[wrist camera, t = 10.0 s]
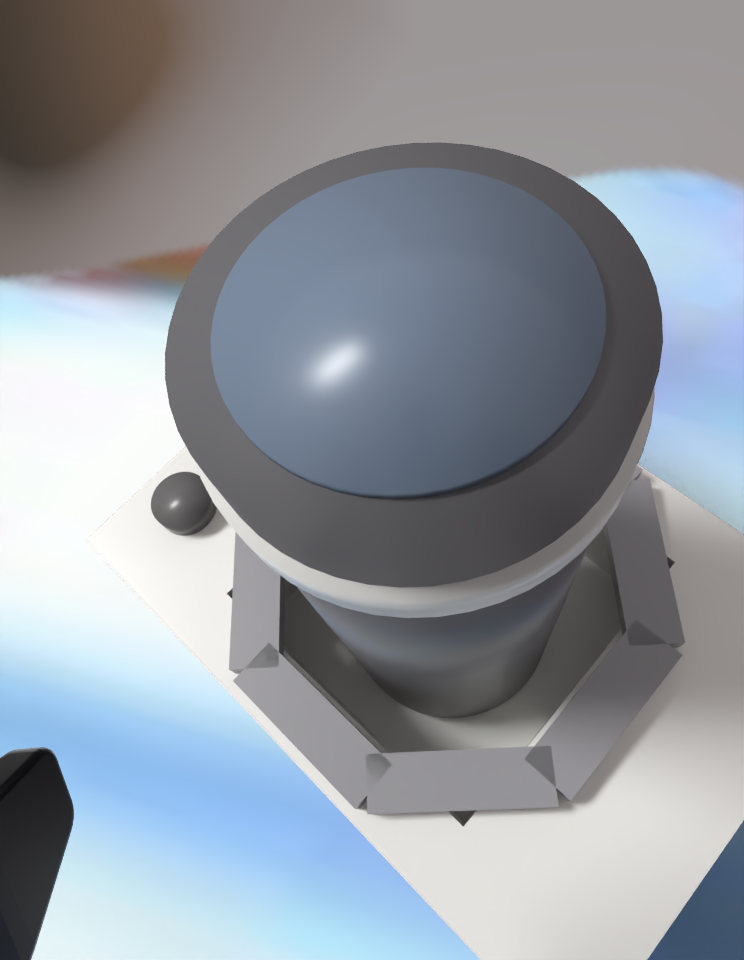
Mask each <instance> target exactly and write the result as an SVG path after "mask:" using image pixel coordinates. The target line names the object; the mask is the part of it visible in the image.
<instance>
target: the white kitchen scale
mask: <svg viewBox="0 0 744 960" xmlns="http://www.w3.org/2000/svg"><path fill="white" fill-rule="evenodd" d="M86 541H87V542H88V543H89V545H90V546H91V547H92V548H93V549H94V550H95V551H96V552H97V553H98V554H99V555H100V556H101V557H102V558H103V559H104V560H105V562H106V563H107V564H108V565H109V566H110V567H111V568H112V569H113V570H114V571H115V572H116V573H117V574H118V575H119V576H120V577H121V578H122V580H123V581H124V582H125V583H126V584H127V585H128V586H129V587H130V588H131V589H132V590H133V591H134V592H135V593H136V594H137V595H138V597H139V598H140V599H141V600H142V601H143V602H144V603H145V604H146V605H147V606H148V607H149V608H150V609H151V610H152V611H153V612H154V614H155V615H156V616H157V617H158V618H159V619H160V620H161V621H162V622H163V623H164V624H165V625H166V626H167V627H168V628H169V629H170V630H171V632H172V633H173V634H174V635H175V636H176V637H177V638H178V639H179V640H180V641H181V642H182V643H183V644H184V645H185V646H186V647H187V649H188V650H189V651H190V652H191V653H192V654H193V655H194V656H195V657H196V658H197V659H198V660H199V661H200V662H201V663H202V664H203V666H204V667H205V668H206V669H207V670H208V671H209V672H210V673H211V674H212V675H213V676H214V677H215V678H216V679H217V680H218V681H219V682H220V684H221V685H222V686H223V687H224V688H225V689H226V690H227V691H228V692H229V693H230V694H231V695H232V696H233V697H234V698H235V699H236V701H237V702H238V703H239V704H240V705H241V706H242V707H243V708H244V709H245V710H246V711H247V712H248V713H249V714H250V715H251V716H252V718H253V719H254V720H255V721H256V722H257V723H258V724H259V725H260V726H261V727H262V728H263V729H264V730H265V731H266V732H267V733H268V734H269V736H270V737H271V738H272V739H273V740H274V741H275V742H276V743H277V744H278V745H279V746H280V747H281V748H282V749H283V750H284V751H285V753H286V754H287V755H288V756H289V757H290V758H291V759H292V760H293V761H294V762H295V763H296V764H297V765H298V766H299V767H300V768H301V770H302V771H303V772H304V773H305V774H306V775H307V776H308V777H309V778H310V779H311V780H312V781H313V782H314V783H315V784H316V785H317V787H318V788H319V789H320V790H321V791H322V792H323V793H324V794H325V795H326V796H327V797H328V798H329V799H330V800H331V801H332V802H333V803H334V805H335V806H336V807H337V808H338V809H339V810H340V811H341V812H342V813H343V814H344V815H345V816H346V817H347V818H348V819H349V820H350V822H351V823H352V824H353V825H354V826H355V827H356V828H357V829H358V830H359V831H360V832H361V833H362V834H363V835H364V836H365V837H366V839H367V840H368V841H369V842H370V843H371V844H372V845H373V846H374V847H375V848H376V849H377V850H378V851H379V852H380V853H381V854H382V855H383V857H384V858H385V859H386V860H387V861H388V862H389V863H390V864H391V865H392V866H393V867H394V868H395V869H396V870H397V871H398V872H399V874H400V875H401V876H402V877H403V878H404V879H405V880H406V881H407V882H408V883H409V884H410V885H411V886H412V887H413V888H414V889H415V891H416V892H417V893H418V894H419V895H420V896H421V897H422V898H423V899H424V900H425V901H426V902H427V903H428V904H429V905H430V906H431V907H432V909H433V910H434V911H435V912H436V913H437V914H438V915H439V916H440V917H441V918H442V919H443V920H444V921H445V922H446V923H447V924H448V926H449V927H450V928H451V929H452V930H453V931H454V932H455V933H456V934H457V935H458V936H459V937H460V938H461V939H462V940H463V941H464V943H465V944H466V945H467V946H468V947H469V948H470V949H471V950H472V951H473V952H474V953H475V954H476V955H477V956H478V957H479V958H480V959H481V960H647V959H648V958H649V956H650V955H651V953H652V952H653V951H654V949H655V948H656V946H657V945H658V943H659V942H660V940H661V939H662V938H663V936H664V935H665V933H666V932H667V930H668V929H669V927H670V926H671V925H672V923H673V922H674V920H675V919H676V917H677V916H678V914H679V913H680V912H681V910H682V909H683V907H684V906H685V904H686V903H687V901H688V900H689V899H690V897H691V896H692V894H693V893H694V891H695V890H696V889H697V887H698V886H699V884H700V883H701V881H702V880H703V878H704V877H705V876H706V874H707V873H708V871H709V870H710V868H711V867H712V865H713V864H714V863H715V861H716V860H717V858H718V857H719V855H720V854H721V852H722V851H723V850H724V848H725V847H726V845H727V844H728V842H729V841H730V839H731V838H732V837H733V835H734V834H735V832H736V831H737V829H738V828H739V826H740V825H741V824H742V822H743V821H744V534H742V533H741V532H739V531H738V530H736V529H735V528H733V527H732V526H730V525H729V524H727V523H726V522H724V521H723V520H721V519H720V518H718V517H716V516H715V515H713V514H712V513H710V512H709V511H707V510H706V509H704V508H703V507H701V506H700V505H698V504H697V503H695V502H694V501H692V500H691V499H689V498H688V497H686V496H685V495H683V494H682V493H680V492H679V491H677V490H676V489H674V488H673V487H671V486H670V485H668V484H667V483H665V482H664V481H662V480H661V479H659V478H658V477H656V476H655V475H653V474H652V473H650V472H649V471H647V470H646V469H644V468H643V467H641V466H640V465H638V464H637V466H636V468H635V470H634V472H633V475H632V477H631V479H630V481H629V483H628V485H627V487H626V489H625V492H624V494H623V496H622V498H621V500H620V502H619V504H618V506H617V508H616V509H615V511H614V512H613V514H612V515H611V517H610V518H609V520H608V521H607V523H606V524H605V526H604V527H603V529H602V530H601V531H600V533H599V534H598V535H597V536H596V537H595V538H594V539H593V540H592V541H591V542H590V544H589V546H588V548H587V550H586V553H585V555H584V558H583V560H582V562H581V565H580V567H579V569H578V572H577V574H576V576H575V579H574V581H573V584H572V586H571V588H570V591H569V593H568V595H567V598H566V600H565V602H564V605H563V607H562V610H561V612H560V614H559V617H558V619H557V621H556V624H555V626H554V628H553V631H552V633H551V636H550V638H549V640H548V643H547V645H546V647H545V650H544V652H543V655H542V657H541V659H540V661H539V663H538V665H537V667H536V670H535V671H534V673H533V674H532V676H531V677H530V679H529V680H528V681H527V683H526V684H525V685H524V686H523V687H522V688H521V689H520V691H518V692H517V693H516V694H515V695H514V696H513V697H511V698H510V699H509V700H507V701H506V702H504V703H503V704H501V705H499V706H498V707H496V708H493V709H491V710H489V711H487V712H484V713H481V714H477V715H474V716H468V717H462V718H442V717H434V716H429V715H426V714H422V713H419V712H416V711H414V710H412V709H409V708H407V707H405V706H404V705H402V704H400V703H398V702H397V701H395V700H394V699H393V698H391V697H390V696H389V695H387V694H386V693H385V692H384V691H383V690H382V689H381V688H380V687H379V686H378V685H377V684H376V683H375V681H374V680H373V679H372V678H371V676H370V675H369V674H368V673H367V672H366V670H365V669H364V668H363V667H362V665H361V664H360V663H359V662H358V661H357V659H356V658H355V657H354V656H353V655H352V653H351V652H350V651H349V650H348V648H347V647H346V646H345V645H344V644H343V642H342V641H341V640H340V639H339V637H338V636H337V635H336V634H335V633H334V631H333V630H332V629H331V628H330V627H329V625H328V624H327V623H326V622H325V620H324V619H323V618H322V617H321V616H320V614H319V613H318V612H317V611H316V609H315V608H314V607H313V606H312V605H311V603H310V602H309V601H308V600H307V598H306V597H305V596H304V595H303V594H302V592H301V591H300V590H299V589H298V588H297V586H295V585H293V584H291V583H290V582H289V581H287V580H286V579H285V578H283V577H282V576H281V575H279V574H278V573H277V572H275V571H274V570H273V569H271V568H270V567H269V566H267V565H266V564H265V563H264V562H263V561H262V560H261V558H260V557H259V556H258V555H257V554H256V553H255V552H254V551H253V550H252V549H251V548H250V547H249V546H248V545H247V544H246V543H245V542H244V541H243V540H242V538H241V537H240V536H239V535H238V534H237V533H236V532H235V530H234V529H233V528H232V527H231V526H230V525H229V523H228V522H227V521H226V519H225V518H224V517H223V515H222V514H221V512H220V511H219V510H218V508H217V507H216V506H215V504H214V503H213V501H212V499H211V497H210V495H209V493H208V491H207V490H206V488H205V486H204V484H203V482H202V480H201V478H200V475H199V472H198V469H197V466H196V463H195V460H194V459H193V458H192V456H191V455H190V453H189V451H188V449H187V447H186V446H185V447H184V448H183V449H182V450H181V451H180V452H179V453H178V454H177V455H176V456H175V457H174V458H173V459H172V460H171V461H169V462H168V463H167V464H166V465H165V466H164V467H163V468H162V469H161V470H160V471H159V472H158V473H157V474H156V475H155V476H153V477H152V478H151V479H150V480H149V481H148V482H147V483H146V484H145V485H144V486H143V487H142V488H141V489H140V490H139V491H138V492H136V493H135V494H134V495H133V496H132V497H131V498H130V499H129V500H128V501H127V502H126V503H125V504H124V505H123V506H122V507H121V508H119V509H118V510H117V511H116V512H115V513H114V514H113V515H112V516H111V517H110V518H109V519H108V520H107V521H106V522H105V523H104V524H102V525H101V526H100V527H99V528H98V529H97V530H96V531H95V532H94V533H93V534H92V535H91V536H90V537H89V538H88V539H87V540H86Z"/></svg>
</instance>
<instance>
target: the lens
mask: <svg viewBox="0 0 744 960" xmlns="http://www.w3.org/2000/svg"><path fill="white" fill-rule="evenodd" d="M662 344H663V334H662V312H661V307H660V303H659V298H658V293H657V288H656V285H655V282H654V279H653V277H652V274H651V272H650V269H649V266H648V264H647V261H646V259H645V258H644V256H643V254H642V252H641V251H640V249H639V247H638V245H637V244H636V242H635V240H634V238H633V237H632V236H631V234H630V233H629V232H628V231H627V229H626V228H625V227H624V226H623V224H622V223H621V222H620V221H619V219H618V218H617V217H616V216H615V215H614V214H613V213H612V212H611V211H610V210H609V209H608V208H607V207H606V206H605V205H604V204H603V203H602V202H601V201H599V200H598V199H597V198H596V197H595V196H594V195H592V194H591V193H589V192H588V191H587V190H585V189H584V188H582V187H581V186H580V185H578V184H577V183H576V182H574V181H572V180H571V179H569V178H567V177H565V176H563V175H562V174H560V173H558V172H556V171H554V170H552V169H551V168H548V167H546V166H543V165H541V164H539V163H536V162H534V161H531V160H529V159H526V158H524V157H520V156H517V155H513V154H510V153H506V152H503V151H500V150H495V149H490V148H484V147H479V146H473V145H464V144H452V143H411V144H402V145H393V146H385V147H380V148H375V149H370V150H365V151H361V152H356V153H353V154H350V155H346V156H343V157H340V158H337V159H333V160H330V161H328V162H326V163H323V164H320V165H318V166H316V167H313V168H311V169H309V170H306V171H304V172H302V173H300V174H298V175H296V176H294V177H292V178H291V179H288V180H287V181H285V182H283V183H281V184H279V185H278V186H276V187H275V188H273V189H272V190H270V191H269V192H267V193H266V194H264V195H263V196H261V197H259V198H258V199H257V200H255V201H254V202H253V203H252V204H250V206H248V207H247V208H246V209H244V210H243V211H242V212H241V213H239V214H238V215H237V216H236V217H235V218H234V219H233V220H232V221H231V222H230V223H229V224H228V225H227V226H226V227H225V228H224V229H223V230H222V231H221V232H220V233H219V234H218V235H217V236H216V237H215V239H214V240H213V241H212V243H211V244H210V245H209V246H208V248H207V249H206V250H205V251H204V253H203V254H202V255H201V257H200V258H199V260H198V262H197V263H196V265H195V266H194V268H193V270H192V271H191V273H190V275H189V276H188V278H187V280H186V282H185V284H184V287H183V289H182V291H181V293H180V295H179V298H178V300H177V302H176V305H175V309H174V312H173V315H172V319H171V322H170V326H169V331H168V338H167V345H166V351H165V380H166V386H167V392H168V398H169V404H170V408H171V411H172V414H173V417H174V420H175V423H176V426H177V429H178V431H179V433H180V435H181V437H182V439H183V441H184V443H185V445H186V447H187V449H188V451H189V453H190V455H191V456H192V458H193V459H194V460H195V463H196V466H197V469H198V472H199V475H200V478H201V480H202V482H203V484H204V486H205V488H206V490H207V491H208V493H209V495H210V497H211V499H212V501H213V503H214V504H215V506H216V507H217V508H218V510H219V511H220V512H221V514H222V515H223V517H224V518H225V519H226V521H227V522H228V523H229V525H230V526H231V527H232V528H233V529H234V530H235V532H236V533H237V534H238V535H239V536H240V537H241V538H242V540H243V541H244V542H245V543H246V544H247V545H248V546H249V547H250V548H251V549H252V550H253V551H254V552H255V553H256V554H257V555H258V556H259V557H260V558H261V560H262V561H263V562H264V563H265V564H266V565H267V566H269V567H270V568H271V569H273V570H274V571H275V572H277V573H278V574H279V575H281V576H282V577H283V578H285V579H286V580H287V581H289V582H290V583H291V584H293V585H295V586H297V588H298V589H299V590H300V591H301V592H302V594H303V595H304V596H305V597H306V598H307V600H308V601H309V602H310V603H311V605H312V606H313V607H314V608H315V609H316V611H317V612H318V613H319V614H320V616H321V617H322V618H323V619H324V620H325V622H326V623H327V624H328V625H329V627H330V628H331V629H332V630H333V631H334V633H335V634H336V635H337V636H338V637H339V639H340V640H341V641H342V642H343V644H344V645H345V646H346V647H347V648H348V650H349V651H350V652H351V653H352V655H353V656H354V657H355V658H356V659H357V661H358V662H359V663H360V664H361V665H362V667H363V668H364V669H365V670H366V672H367V673H368V674H369V675H370V676H371V678H372V679H373V680H374V681H375V683H376V684H377V685H378V686H379V687H380V688H381V689H382V690H383V691H384V692H385V693H386V694H387V695H389V696H390V697H391V698H393V699H394V700H395V701H397V702H398V703H400V704H402V705H404V706H405V707H407V708H409V709H412V710H414V711H416V712H419V713H422V714H426V715H429V716H434V717H442V718H462V717H468V716H474V715H477V714H481V713H484V712H487V711H489V710H491V709H493V708H496V707H498V706H499V705H501V704H503V703H504V702H506V701H507V700H509V699H510V698H511V697H513V696H514V695H515V694H516V693H517V692H518V691H520V689H521V688H522V687H523V686H524V685H525V684H526V683H527V681H528V680H529V679H530V677H531V676H532V674H533V673H534V671H535V670H536V667H537V665H538V663H539V661H540V659H541V657H542V655H543V652H544V650H545V647H546V645H547V643H548V640H549V638H550V636H551V633H552V631H553V628H554V626H555V624H556V621H557V619H558V617H559V614H560V612H561V610H562V607H563V605H564V602H565V600H566V598H567V595H568V593H569V591H570V588H571V586H572V584H573V581H574V579H575V576H576V574H577V572H578V569H579V567H580V565H581V562H582V560H583V558H584V555H585V553H586V550H587V548H588V546H589V544H590V542H591V541H592V540H593V539H594V538H595V537H596V536H597V535H598V534H599V533H600V531H601V530H602V529H603V527H604V526H605V524H606V523H607V521H608V520H609V518H610V517H611V515H612V514H613V512H614V511H615V509H616V508H617V506H618V504H619V502H620V500H621V498H622V496H623V494H624V492H625V489H626V487H627V485H628V483H629V481H630V479H631V477H632V475H633V472H634V470H635V468H636V466H637V464H638V462H639V460H640V457H641V455H642V453H643V450H644V446H645V443H646V440H647V436H648V433H649V430H650V426H651V420H652V412H653V405H654V386H655V382H656V379H657V376H658V372H659V367H660V359H661V352H662Z"/></svg>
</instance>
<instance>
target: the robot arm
mask: <svg viewBox="0 0 744 960" xmlns="http://www.w3.org/2000/svg"><path fill="white" fill-rule="evenodd" d="M73 819H74V809H73V803H72V800H71V797H70V794H69V791H68V789H67V786H66V783H65V780H64V777H63V775H62V772H61V769H60V766H59V764H58V761H57V758H56V756H55V754H54V753H53V752H52V751H51V750H50V749H48V748H44V747H40V748H29V749H18V750H13V751H11V752H8V753H7V754H5V755H4V756H2V757H1V758H0V960H31V958H32V955H33V952H34V949H35V946H36V943H37V940H38V936H39V933H40V930H41V927H42V924H43V920H44V917H45V914H46V911H47V907H48V904H49V901H50V898H51V894H52V891H53V888H54V885H55V881H56V878H57V875H58V872H59V869H60V865H61V862H62V859H63V856H64V852H65V849H66V846H67V843H68V839H69V836H70V833H71V830H72V825H73Z"/></svg>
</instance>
